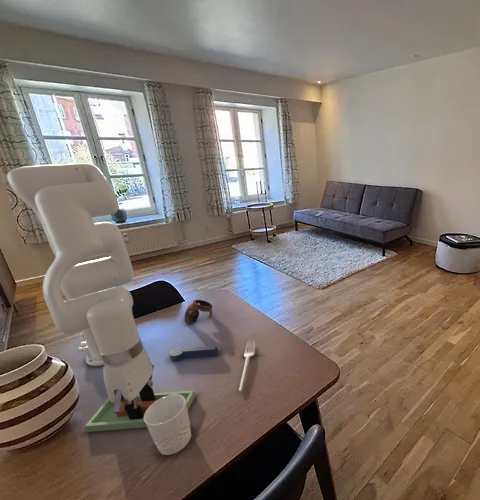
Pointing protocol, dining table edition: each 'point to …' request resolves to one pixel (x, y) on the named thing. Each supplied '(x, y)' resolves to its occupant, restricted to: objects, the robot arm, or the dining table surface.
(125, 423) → the tray
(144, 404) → the terracotta spoon
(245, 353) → the fork
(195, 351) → the blue spoon
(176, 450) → the white cup
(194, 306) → the orange headphones
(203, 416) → the dining table surface
